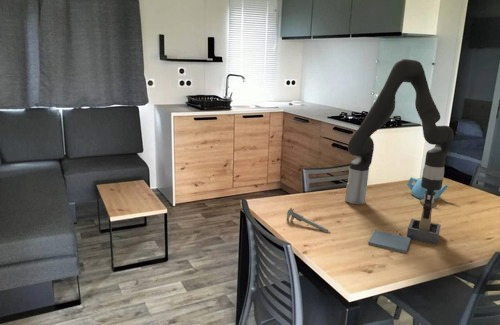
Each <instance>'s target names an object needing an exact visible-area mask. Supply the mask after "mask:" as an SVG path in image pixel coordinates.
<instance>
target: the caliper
mask: <svg viewBox="0 0 500 325" xmlns="http://www.w3.org/2000/svg"><path fill="white" fill-rule="evenodd" d="M294 210H295V209H294V208H292V207H290V208H289V209H288V210H287V213H286V221H289V220H290V222H293V221H294V220H296V221H299V222H304V223H305V224H308V225H309V226H312V227H314V228H316V229H318V230H320V231H321V232H325V233H328V234H330V233H331V230H329V228H326V227H325V226H322V225H320V224H318V223H316V222H315V221H312V220H311V219H308V218H306V217H304V215H302V214H300V213H298V212H296V211H294Z"/></svg>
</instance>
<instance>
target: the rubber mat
mask: <svg viewBox="0 0 500 325" xmlns="http://www.w3.org/2000/svg"><path fill="white" fill-rule="evenodd" d="M411 241H412V240H411V238H409V237H407V236H404V235H399V234H395V233H390V232H386V231H382V230H379V229H378V230H377V229H374V231H373V233H372V235H371V236H370V238H369V240H368V242H367V244H368V245H369V246H370V245H371V246H374V247H378V248H383V249H387V250H391V251H395V252H400V253H404V254H407V251H408V249H409V246H410V243H411Z"/></svg>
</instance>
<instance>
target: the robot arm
mask: <svg viewBox="0 0 500 325" xmlns="http://www.w3.org/2000/svg"><path fill="white" fill-rule="evenodd" d="M426 76H427V75H426V72H425V70H424V66H423V65H422V63H421V62H420V61H418V60H414V59H408V58H401V59H399V60H397V61H396V62H395V63H394V64H393V67H392V68H391V70H390V73H389V75H388V76H387V79H386V81H385V84H384V86H383V87H382V89H381V90H380V93H379V95H378V96H377V98H376V100H375V101H374V103H373V104H372V106H371V107H370V109H369V111H368V113H367V114H366V116H365V118H364V119H363V121H362V122H361V124H360V126H359V127H358V129H357V130H356V131H355V132H354V133H353V135H352V136H351V138H350V139H349V142H348V144H347V145H348V146H347V150H348V152H349V154H350V155H352V156H355V158H354V159H353V160H351V161H350V163H349V169H348V180H347V183H346V188H345V196H344V197H345V198H344V201H345V202H347V203H350V204H353V205H363V204H365V203H366V199H367V198H366V197H367V190H368V189H367V188H368V180H369V171H370V166H371V165H372V162H373V156H374V148H375V143H374V141H373V140H374V139H373V138H372V135H373V134H374V133H376V132H377V131H378V130H380V129H381V128H382V127H383V126H384V125H386V123H387V122H388V121H389V120H390V118H391V116H392V115H393V113H394V111H395V108H396V94H397V92H398V90H399V88H400V87H401V85H402V84H403V83H409V84H411V86H412V87H413V89H414V91H415V110H416V113H417V115H418V117H419V118H420V121H421V127H422V135H423V137H424V140H425V141H426V143H428V144H430V145H432V146H433V145H435V146H434V147H433V148H431V149H428V150H427V151H426V154H425V159H424V165H423V170H422V175H421V178H422V182H421V186H422V187H423V188H425V189H427V191H425V194H424V197H425V198H424V207H423V206H422V209H423V208H424V214H423V218H425V219H429V216H430V210H431V206H432V205H433V202H435V200H434V198H435V195H436V192H434V191H435V190H440V189H441V188H443V182H444V176H445V175H444V174H445V165H446V158H447V155H448V152H449V151H450V149H451V147H452V145H453V144H452V143H453V141H454V137H455V136H454V130H453V129H452V127H450V126H448V125H436V124H437V123H438V122H439V121H440V119H441V114H440V112H439V110H438V107H437V105H436V104H435V101H434V99H433V97H432V96H433V95H431V91H430V87H429V84H428V79H427V77H426ZM426 204H429V205H430V207H427V206H426Z"/></svg>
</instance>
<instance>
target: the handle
mask: <svg viewBox="0 0 500 325" xmlns="http://www.w3.org/2000/svg"><path fill="white" fill-rule="evenodd" d="M419 204H420V205H421V206H422V211H421V217H420V225H419V229H420V230H425V231H429V229H430V223H432V222H431V221H432V214H433V213H432V212H433V209H435V208H437V205H438V203H437V202H435V201H434V202H433V205H432V206H431V210H430V216H429V219H425V218H423V214H424V208H423V207H424V199H420V200H419ZM426 206H427V207H430V205H429V204H426Z"/></svg>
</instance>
